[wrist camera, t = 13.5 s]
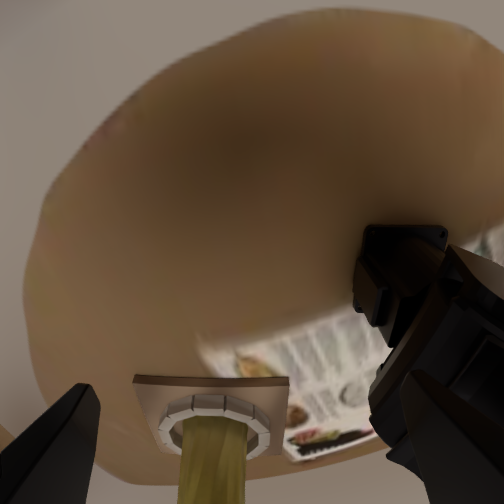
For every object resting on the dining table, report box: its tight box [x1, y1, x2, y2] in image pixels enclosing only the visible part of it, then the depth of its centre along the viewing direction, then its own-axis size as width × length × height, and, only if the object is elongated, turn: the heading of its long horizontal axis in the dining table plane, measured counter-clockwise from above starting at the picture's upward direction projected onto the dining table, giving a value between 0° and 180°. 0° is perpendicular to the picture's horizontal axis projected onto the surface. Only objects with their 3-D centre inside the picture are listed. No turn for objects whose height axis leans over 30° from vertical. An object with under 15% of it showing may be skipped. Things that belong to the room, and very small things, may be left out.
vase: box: [177, 415, 248, 504], centre depth 20 cm, size 6×6×14 cm
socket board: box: [132, 375, 289, 460], centre depth 27 cm, size 13×12×2 cm
